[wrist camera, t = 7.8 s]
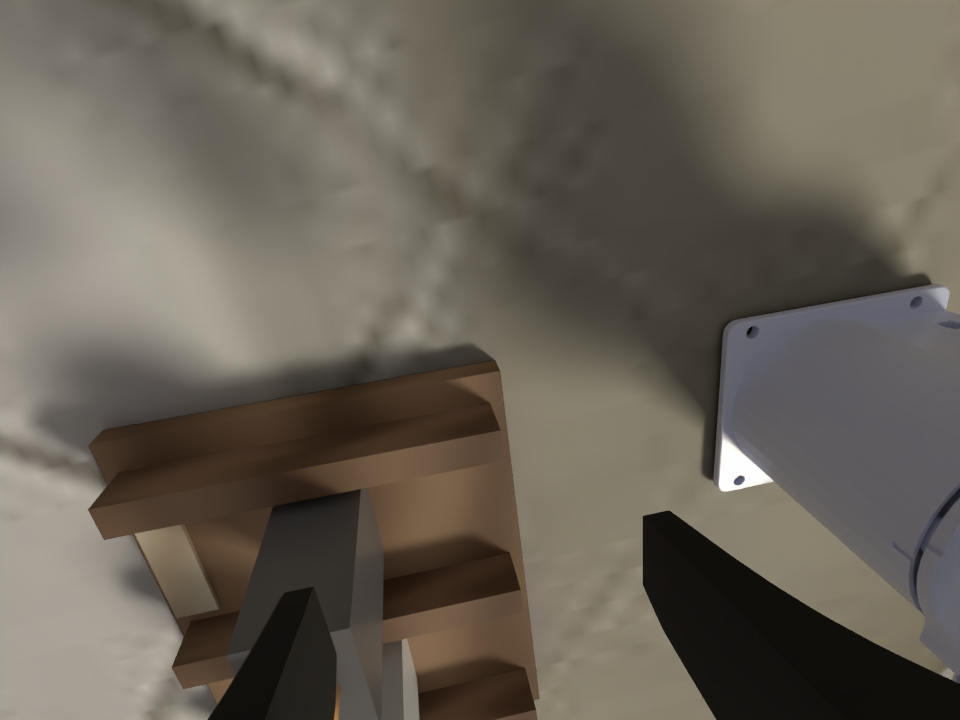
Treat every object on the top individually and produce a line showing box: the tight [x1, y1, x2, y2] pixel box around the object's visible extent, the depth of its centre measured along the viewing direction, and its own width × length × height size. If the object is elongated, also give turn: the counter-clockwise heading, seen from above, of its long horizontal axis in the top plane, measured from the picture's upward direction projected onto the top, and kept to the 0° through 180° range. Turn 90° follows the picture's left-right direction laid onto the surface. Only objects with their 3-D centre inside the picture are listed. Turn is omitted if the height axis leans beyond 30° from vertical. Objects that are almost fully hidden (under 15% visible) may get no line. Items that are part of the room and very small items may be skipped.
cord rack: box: [88, 360, 539, 720], centre depth 21 cm, size 14×18×3 cm
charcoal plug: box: [226, 488, 384, 720], centre depth 16 cm, size 3×4×8 cm
